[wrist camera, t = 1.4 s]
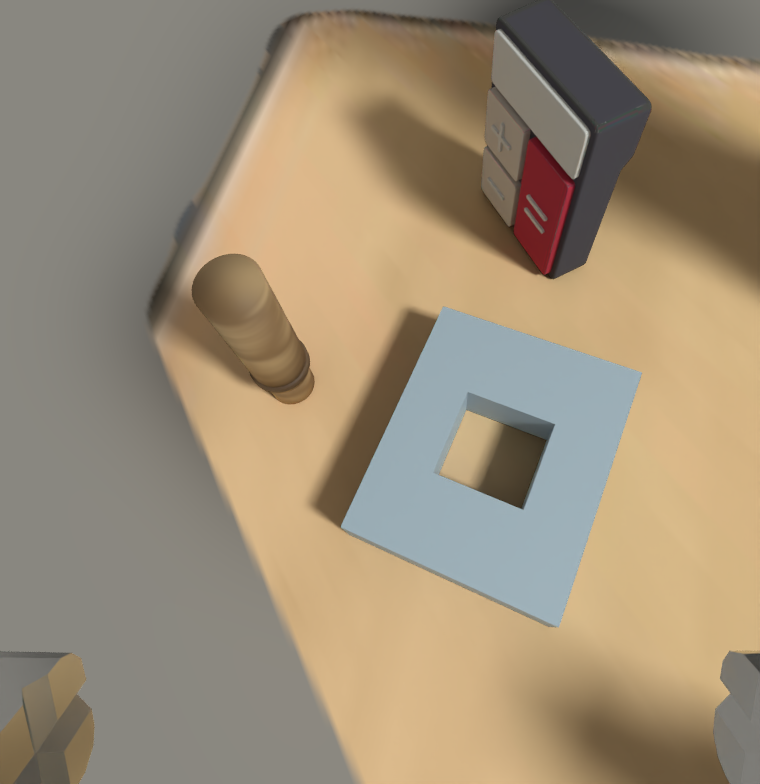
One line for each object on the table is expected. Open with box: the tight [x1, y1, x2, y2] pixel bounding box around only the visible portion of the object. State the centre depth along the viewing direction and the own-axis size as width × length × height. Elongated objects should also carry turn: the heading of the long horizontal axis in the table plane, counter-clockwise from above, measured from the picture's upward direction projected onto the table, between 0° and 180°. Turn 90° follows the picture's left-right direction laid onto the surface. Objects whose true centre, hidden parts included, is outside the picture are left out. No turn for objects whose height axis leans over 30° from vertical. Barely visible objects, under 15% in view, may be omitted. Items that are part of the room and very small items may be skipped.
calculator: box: [481, 0, 651, 279], centre depth 40 cm, size 11×4×15 cm, turn 25°
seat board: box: [341, 306, 642, 627], centre depth 38 cm, size 17×14×4 cm
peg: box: [192, 254, 314, 404], centre depth 38 cm, size 4×4×14 cm
